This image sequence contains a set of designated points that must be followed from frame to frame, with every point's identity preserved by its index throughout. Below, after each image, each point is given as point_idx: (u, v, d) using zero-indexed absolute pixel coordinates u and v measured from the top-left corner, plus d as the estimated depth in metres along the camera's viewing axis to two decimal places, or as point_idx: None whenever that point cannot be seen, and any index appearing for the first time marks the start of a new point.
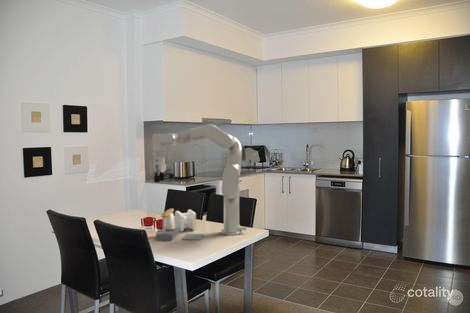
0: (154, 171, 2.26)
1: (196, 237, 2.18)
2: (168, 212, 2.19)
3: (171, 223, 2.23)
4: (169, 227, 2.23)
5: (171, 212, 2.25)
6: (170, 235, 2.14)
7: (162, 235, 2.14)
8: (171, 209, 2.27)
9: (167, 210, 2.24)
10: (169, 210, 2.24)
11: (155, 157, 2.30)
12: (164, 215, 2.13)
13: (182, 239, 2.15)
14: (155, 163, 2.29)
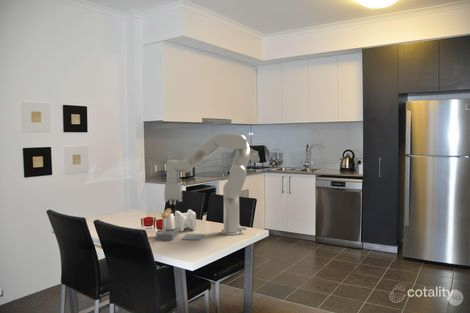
0: (179, 201, 2.27)
1: (196, 237, 2.18)
2: (167, 212, 2.19)
3: (171, 223, 2.23)
4: (169, 227, 2.23)
5: (169, 212, 2.26)
6: (170, 235, 2.14)
7: (162, 235, 2.14)
8: (169, 209, 2.27)
9: (166, 210, 2.24)
10: (168, 210, 2.24)
11: (179, 184, 2.26)
12: (164, 215, 2.13)
13: (182, 239, 2.15)
14: (180, 190, 2.26)
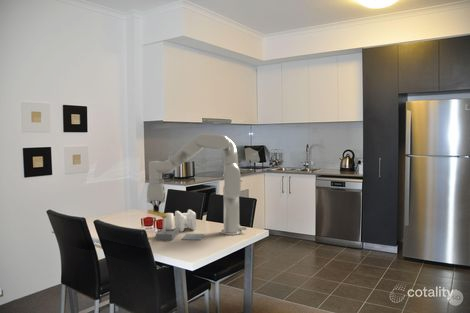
0: (162, 202, 2.26)
1: (196, 237, 2.18)
2: (161, 212, 2.19)
3: (171, 223, 2.23)
4: (169, 227, 2.23)
5: None
6: (170, 235, 2.14)
7: (162, 235, 2.14)
8: (153, 210, 2.25)
9: (154, 211, 2.21)
10: (155, 211, 2.22)
11: (162, 185, 2.25)
12: (166, 215, 2.14)
13: (182, 239, 2.15)
14: (163, 191, 2.25)
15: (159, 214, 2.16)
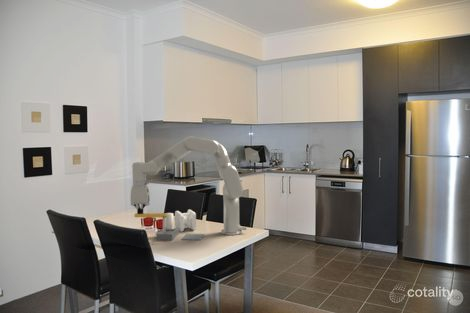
0: (146, 205, 2.16)
1: (196, 237, 2.18)
2: None
3: (171, 223, 2.23)
4: (169, 227, 2.23)
5: None
6: (170, 235, 2.14)
7: (162, 235, 2.14)
8: (141, 213, 2.15)
9: (146, 214, 2.14)
10: (147, 213, 2.15)
11: (146, 187, 2.15)
12: None
13: (182, 239, 2.15)
14: (147, 193, 2.16)
15: (158, 215, 2.13)
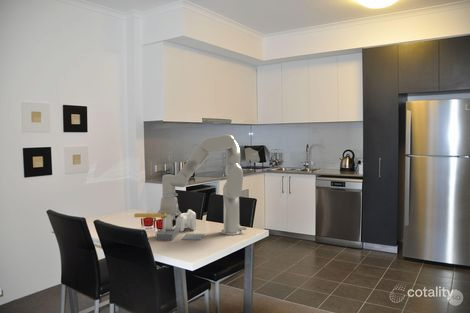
0: (179, 215, 2.24)
1: (196, 237, 2.18)
2: None
3: (171, 223, 2.23)
4: (169, 227, 2.23)
5: None
6: (170, 235, 2.14)
7: (162, 235, 2.14)
8: (141, 213, 2.15)
9: (146, 214, 2.14)
10: (146, 213, 2.15)
11: (175, 199, 2.23)
12: None
13: (182, 239, 2.15)
14: (176, 205, 2.23)
15: (158, 215, 2.13)
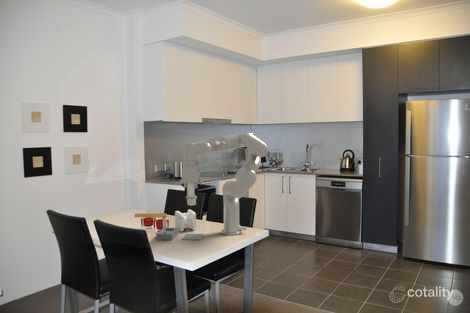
0: None
1: (196, 237, 2.18)
2: None
3: (193, 192, 2.18)
4: (191, 196, 2.18)
5: None
6: (170, 235, 2.14)
7: (162, 235, 2.14)
8: (141, 213, 2.15)
9: (146, 214, 2.14)
10: (146, 213, 2.15)
11: (197, 167, 2.18)
12: None
13: (182, 239, 2.15)
14: (198, 173, 2.18)
15: (158, 215, 2.13)
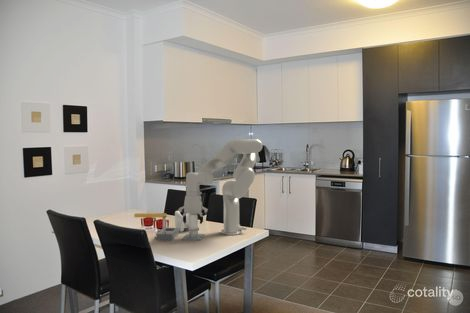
0: (206, 211, 2.19)
1: (196, 237, 2.18)
2: None
3: (195, 224, 2.19)
4: (193, 228, 2.18)
5: None
6: (170, 235, 2.14)
7: (162, 235, 2.14)
8: (141, 213, 2.15)
9: (146, 214, 2.14)
10: (146, 213, 2.15)
11: (199, 197, 2.18)
12: None
13: (182, 239, 2.15)
14: (201, 203, 2.19)
15: (158, 215, 2.13)
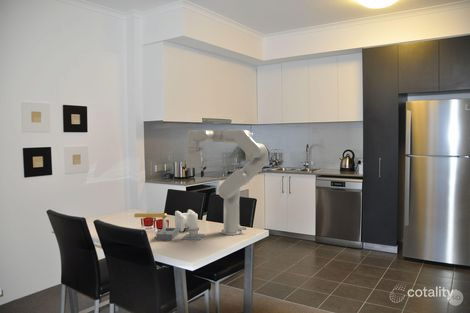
0: (206, 166, 2.37)
1: (196, 237, 2.18)
2: None
3: (195, 223, 2.19)
4: (193, 228, 2.18)
5: None
6: (170, 235, 2.14)
7: (162, 235, 2.14)
8: (141, 213, 2.15)
9: (146, 214, 2.14)
10: (146, 213, 2.15)
11: (200, 153, 2.37)
12: None
13: (182, 239, 2.15)
14: (201, 159, 2.37)
15: (158, 215, 2.13)
